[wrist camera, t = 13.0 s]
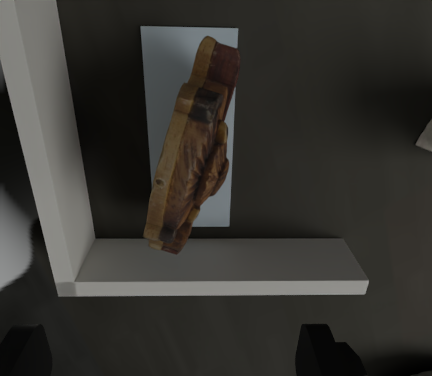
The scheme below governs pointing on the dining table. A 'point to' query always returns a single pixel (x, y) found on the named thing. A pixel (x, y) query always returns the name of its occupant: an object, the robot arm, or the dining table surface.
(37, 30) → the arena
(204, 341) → the dining table surface
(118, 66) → the dining table surface
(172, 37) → the pad
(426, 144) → the condiment
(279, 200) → the dining table surface
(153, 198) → the wooden carving
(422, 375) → the decorative shell
